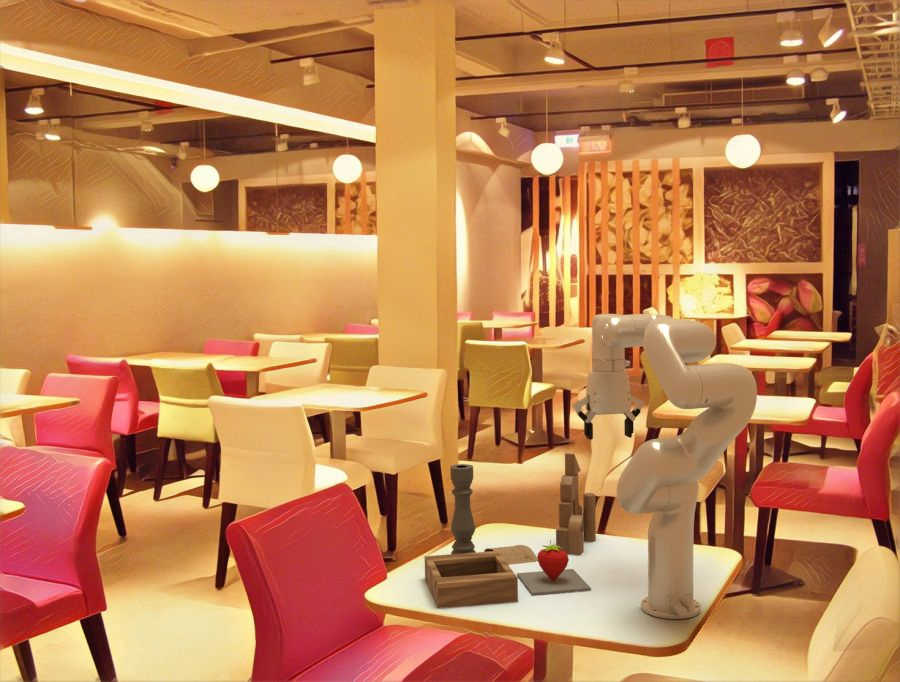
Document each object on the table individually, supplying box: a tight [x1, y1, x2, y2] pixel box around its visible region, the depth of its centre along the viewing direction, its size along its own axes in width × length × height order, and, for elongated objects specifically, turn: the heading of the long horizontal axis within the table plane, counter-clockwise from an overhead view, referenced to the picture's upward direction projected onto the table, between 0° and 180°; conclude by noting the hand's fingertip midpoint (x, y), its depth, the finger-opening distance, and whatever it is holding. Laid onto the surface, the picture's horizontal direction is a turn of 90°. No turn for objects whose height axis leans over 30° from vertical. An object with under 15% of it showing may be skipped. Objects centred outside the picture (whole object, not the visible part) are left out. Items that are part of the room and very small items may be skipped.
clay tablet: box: [483, 544, 538, 566], centre depth 246 cm, size 14×10×3 cm
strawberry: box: [536, 539, 570, 580], centre depth 225 cm, size 6×8×10 cm
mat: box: [516, 568, 592, 596], centre depth 226 cm, size 14×14×1 cm
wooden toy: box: [555, 452, 597, 556], centre depth 253 cm, size 16×7×25 cm, turn 156°
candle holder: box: [449, 463, 477, 554], centre depth 239 cm, size 6×6×25 cm
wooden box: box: [424, 550, 519, 608], centre depth 222 cm, size 20×18×6 cm
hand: (608, 437), depth 228 cm, fingers open, 9 cm apart
